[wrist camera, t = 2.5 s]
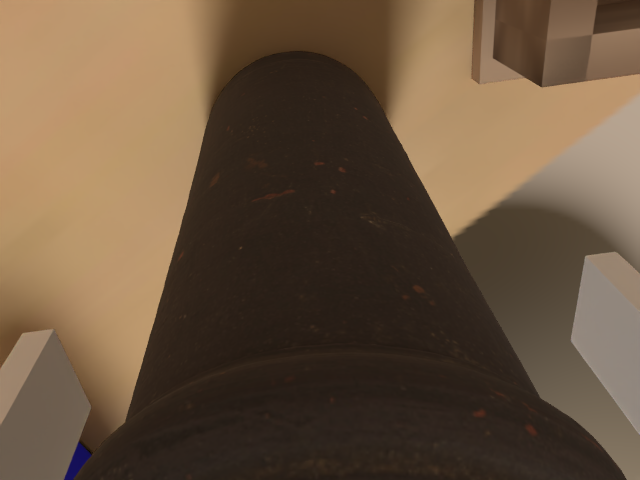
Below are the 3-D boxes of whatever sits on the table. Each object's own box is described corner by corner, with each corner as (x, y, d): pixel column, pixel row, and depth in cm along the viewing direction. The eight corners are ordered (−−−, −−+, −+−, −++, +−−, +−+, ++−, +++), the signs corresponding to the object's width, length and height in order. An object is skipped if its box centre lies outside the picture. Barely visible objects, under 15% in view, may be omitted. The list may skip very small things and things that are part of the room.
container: (226, 246, 26) (151, 848, 9) (171, 63, 22) (-193, 594, 4) (397, 214, 26) (644, 762, 9) (379, 24, 21) (817, 413, 4)
